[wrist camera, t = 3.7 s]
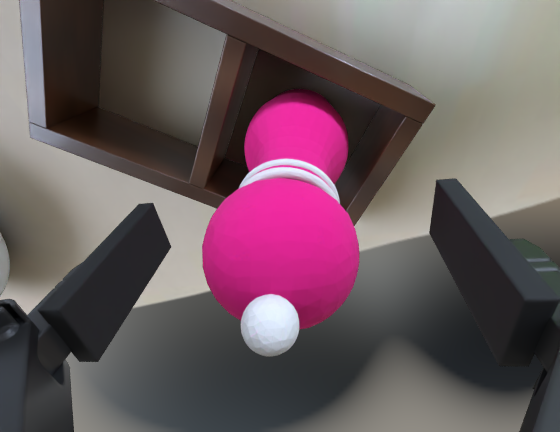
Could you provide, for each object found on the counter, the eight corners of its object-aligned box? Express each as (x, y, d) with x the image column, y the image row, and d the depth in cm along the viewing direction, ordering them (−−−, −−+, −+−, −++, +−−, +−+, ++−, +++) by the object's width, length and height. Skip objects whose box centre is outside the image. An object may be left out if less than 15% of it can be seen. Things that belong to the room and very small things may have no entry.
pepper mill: (335, 173, 27) (365, 427, 10) (254, 164, 27) (158, 397, 11) (352, 86, 23) (446, 273, 6) (256, 76, 23) (111, 231, 7)
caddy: (332, 213, 29) (336, 253, 24) (83, 114, 26) (29, 137, 21) (409, 84, 23) (436, 104, 18) (88, -67, 20) (10, -95, 15)
